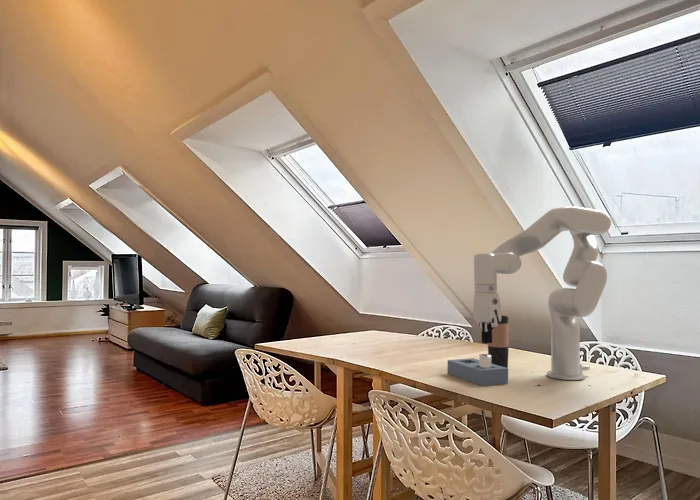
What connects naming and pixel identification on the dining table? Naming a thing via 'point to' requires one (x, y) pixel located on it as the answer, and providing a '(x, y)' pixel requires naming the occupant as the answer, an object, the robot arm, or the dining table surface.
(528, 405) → the dining table surface
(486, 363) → the bushing
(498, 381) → the block
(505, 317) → the travel mug
